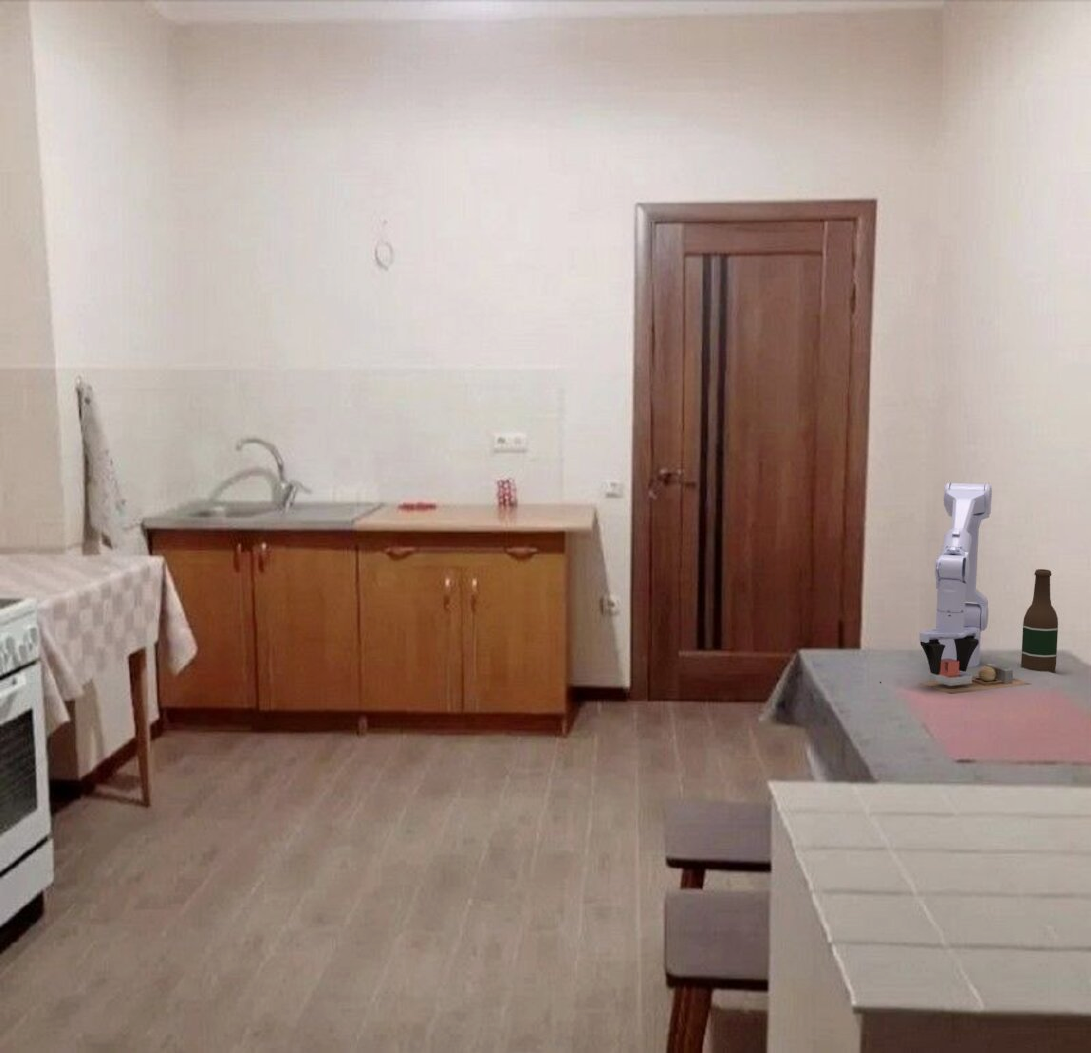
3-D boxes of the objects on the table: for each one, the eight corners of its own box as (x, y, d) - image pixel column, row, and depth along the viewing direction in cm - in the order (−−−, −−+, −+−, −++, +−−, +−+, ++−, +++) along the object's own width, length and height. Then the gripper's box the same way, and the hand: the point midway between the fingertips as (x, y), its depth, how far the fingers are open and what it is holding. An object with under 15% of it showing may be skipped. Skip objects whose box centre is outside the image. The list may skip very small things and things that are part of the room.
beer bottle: (1049, 668, 259) (1054, 567, 257) (1061, 676, 252) (1067, 572, 249) (1015, 667, 260) (1020, 567, 257) (1026, 676, 252) (1031, 572, 250)
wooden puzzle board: (918, 688, 242) (919, 669, 242) (997, 678, 250) (998, 660, 250) (950, 699, 233) (951, 680, 233) (1031, 689, 241) (1032, 670, 240)
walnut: (974, 679, 244) (976, 664, 243) (986, 680, 245) (988, 664, 245) (985, 683, 240) (987, 667, 240) (998, 684, 242) (1000, 668, 241)
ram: (935, 681, 240) (936, 658, 240) (957, 678, 242) (958, 656, 242) (949, 686, 236) (950, 663, 236) (971, 683, 238) (972, 660, 238)
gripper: (936, 616, 231) (934, 679, 232) (990, 611, 236) (988, 673, 237) (913, 610, 237) (911, 672, 239) (967, 605, 242) (964, 665, 244)
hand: (948, 672), depth 238 cm, fingers open, 7 cm apart
